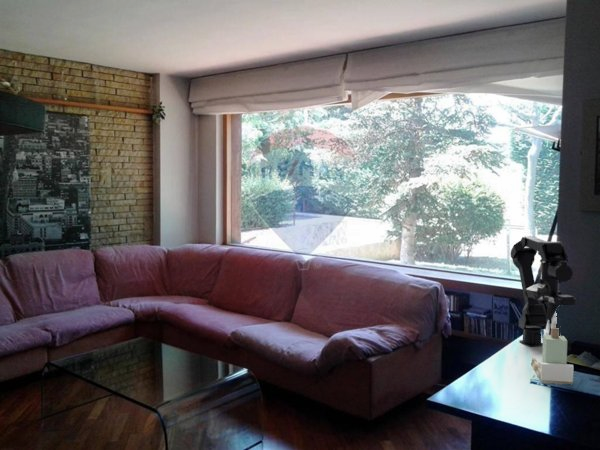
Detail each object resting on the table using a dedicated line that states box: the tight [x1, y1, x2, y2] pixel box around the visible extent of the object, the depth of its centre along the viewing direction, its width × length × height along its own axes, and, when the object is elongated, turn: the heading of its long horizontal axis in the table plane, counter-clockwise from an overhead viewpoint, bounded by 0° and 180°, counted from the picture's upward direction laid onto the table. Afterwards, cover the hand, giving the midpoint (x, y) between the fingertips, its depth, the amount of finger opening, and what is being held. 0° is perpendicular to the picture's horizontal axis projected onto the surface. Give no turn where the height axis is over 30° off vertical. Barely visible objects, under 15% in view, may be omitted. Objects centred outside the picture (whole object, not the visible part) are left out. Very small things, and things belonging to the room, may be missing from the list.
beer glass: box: [543, 312, 557, 335], centre depth 215 cm, size 7×7×15 cm
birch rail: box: [530, 357, 574, 385], centre depth 174 cm, size 17×9×2 cm, turn 167°
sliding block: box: [541, 327, 568, 364], centre depth 170 cm, size 5×6×15 cm
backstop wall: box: [541, 363, 575, 383], centre depth 167 cm, size 2×9×5 cm, turn 77°
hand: (548, 319), depth 192 cm, fingers closed
